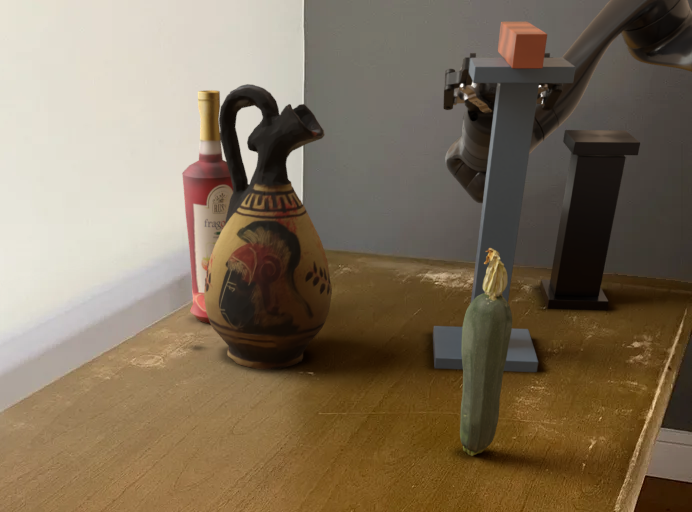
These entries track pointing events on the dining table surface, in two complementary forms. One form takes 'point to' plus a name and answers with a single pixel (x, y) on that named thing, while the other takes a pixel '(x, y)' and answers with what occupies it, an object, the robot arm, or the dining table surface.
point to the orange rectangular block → (522, 45)
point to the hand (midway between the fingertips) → (509, 61)
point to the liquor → (206, 197)
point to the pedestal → (587, 218)
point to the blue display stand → (503, 192)
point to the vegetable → (484, 358)
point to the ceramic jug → (267, 242)
